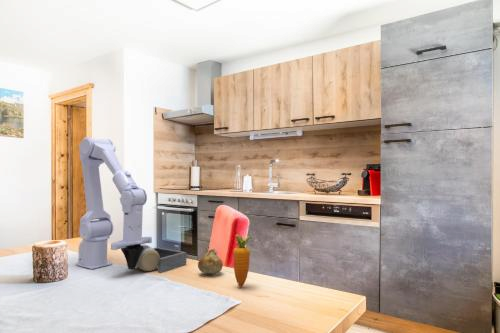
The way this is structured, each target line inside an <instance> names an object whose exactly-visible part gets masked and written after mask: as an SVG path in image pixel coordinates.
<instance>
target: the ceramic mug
mask: <svg viewBox="0 0 500 333" xmlns="http://www.w3.org/2000/svg"><path fill="white" fill-rule="evenodd" d="M140 246H143V250H142V252H141V253H140V255H139V258H138V260H137V264H136V267H135V268H138V269H140V270H141V271H144V272H151V271H152V272H153V271H154V270H155V269H156V268H158V259H159V258H160V256H159V254H158V252H157V251H156V250H154V249H152V247H151V246H150V245H148V244H141V245H140Z"/></svg>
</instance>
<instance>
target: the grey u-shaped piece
mask: <svg viewBox="0 0 500 333" xmlns="http://www.w3.org/2000/svg"><path fill="white" fill-rule="evenodd" d="M151 248H152V247H151ZM152 249H154V250H156V251H157V252H158V254H159V256H160V258H159V259H158V266H157V273H158V274H162V273H165V272H168V271H172V270H174V269H177V268H180V267H185V266H187V255H188V254H187V251H182V250H175V249H169V248H164V247H159V246H157V247H153V248H152Z"/></svg>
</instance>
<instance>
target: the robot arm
mask: <svg viewBox="0 0 500 333" xmlns="http://www.w3.org/2000/svg"><path fill="white" fill-rule="evenodd" d="M78 150H79V160H80V163H81V168H82V180H83V188H84V197H85V206H86V212H85V214H84V215H83V216H81V218H80V219H79V222H80V223H79V228H78V233H79V236H80V238H81V239H82V240H81V241H80V242H79V245H78V255H77V256H78V258H77V259H78V260H77V261H78V262H76V263H75V266H78V267H82V268H86V269H90V270H94V269H98V268H102V267H106V266H111V265H113V262H110V261H108V240H109V239H110V236H111V235H113V232H114V223H113V221H112V219H111V215H110V214H109V213H108V212H107V211H105V209H104V202H103V192H102V184H101V176H100V174H101V173H100V166H101V165H103V164H105V166H107V168H108V170H109V171H110V172H111V174H112V175H113V176H112V179H111V180H112V182H113V184H114V185H115V188H116V189H117V190H118V192H119V194H120V197H119V202H120V204H121V208H122V210H121V211H122V212H123V227H122V239H121V240H118V241H115V242H112V243H110V250H112V251H118V250H121V252H122V254H123V256H124V258H125V261H126V265H127V269H128V270H131V271H132V270H136V268H137V267H136V264H137V260H138V258H139V255H140V253H141V252H142V250H143V246H140V245H142V244H145V245H147V244H151V243H153V237H152V236H143V211H144V210H143V209H144V205H145V204H146V203H147V200H148V195H147V192H146V190H145V189H144V188H141V187H140V186H138V185H137V184H136V181H135V180H134V178H133V177H132V173H131V172H129V171H128V170H124V169H123V166H122V164H121V163H120V161H119V158H118V156H117V154H116V146H115V145H114V142H113V141H112V140H111V139H104V138H103V139H102V138H95V137H88V136H85V137H84V138H82V140H81V141H80V142H79V145H78Z"/></svg>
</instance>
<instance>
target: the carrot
mask: <svg viewBox="0 0 500 333" xmlns="http://www.w3.org/2000/svg"><path fill="white" fill-rule="evenodd" d="M235 238H236V242H235V244H236V245H237V247H235V248H233V271H234V277H235V279H236V283H237V285H238V286H239V288H243V286H244V285H245V283H246V282H247V279H248V275H249V274H248V273H249V267H250V256H251V255H250V254H251V253H250V249H249V248H248V247H246V245H247V243H248V242H249V240H250V239H251V237H250V236H249V235H247V236H246V238H243V237H242V235H240V236H239V234H236V235H235Z"/></svg>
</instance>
